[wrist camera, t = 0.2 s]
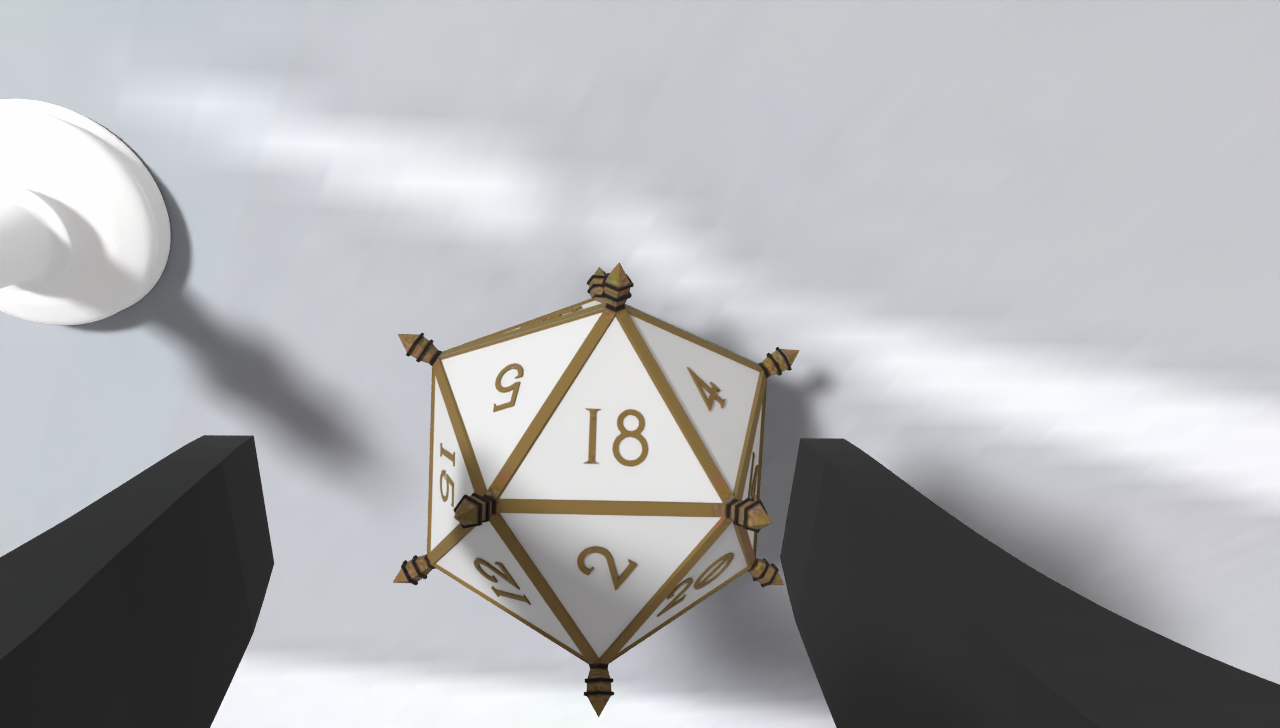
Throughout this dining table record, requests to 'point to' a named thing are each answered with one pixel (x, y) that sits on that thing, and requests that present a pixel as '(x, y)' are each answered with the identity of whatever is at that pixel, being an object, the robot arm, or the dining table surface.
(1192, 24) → the dining table surface
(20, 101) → the chess piece
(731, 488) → the game die
